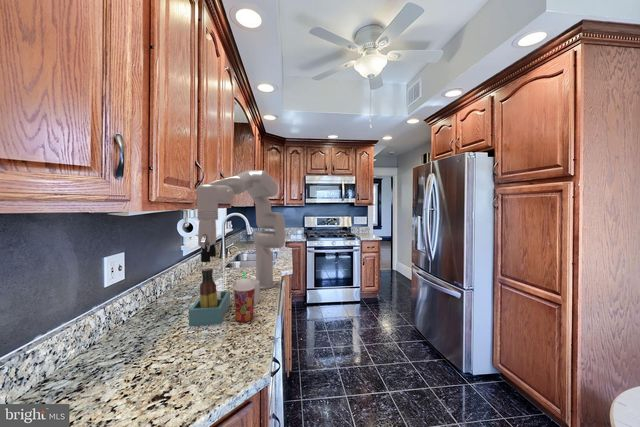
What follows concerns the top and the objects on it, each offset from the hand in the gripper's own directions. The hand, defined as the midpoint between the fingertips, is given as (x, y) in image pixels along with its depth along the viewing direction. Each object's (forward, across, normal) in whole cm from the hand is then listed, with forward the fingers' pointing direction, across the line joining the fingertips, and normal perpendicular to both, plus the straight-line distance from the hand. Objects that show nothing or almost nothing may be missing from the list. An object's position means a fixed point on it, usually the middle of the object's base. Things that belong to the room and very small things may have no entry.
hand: (208, 259), depth 108 cm
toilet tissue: (+25, -17, +12) cm, 33 cm away
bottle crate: (+25, -4, 0) cm, 25 cm away
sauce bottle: (+24, 0, 0) cm, 24 cm away
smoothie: (+25, +3, +14) cm, 29 cm away
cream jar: (+24, -9, 0) cm, 26 cm away
